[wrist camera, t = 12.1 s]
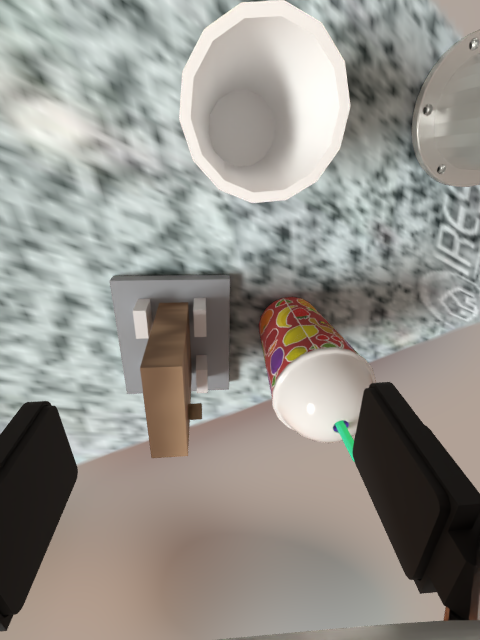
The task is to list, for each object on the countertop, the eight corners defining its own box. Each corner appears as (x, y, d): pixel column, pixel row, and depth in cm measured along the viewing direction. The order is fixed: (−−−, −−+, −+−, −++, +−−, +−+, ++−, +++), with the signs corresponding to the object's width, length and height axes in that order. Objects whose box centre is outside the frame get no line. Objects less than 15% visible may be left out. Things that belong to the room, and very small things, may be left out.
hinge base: (228, 274, 36) (232, 289, 32) (228, 381, 42) (230, 405, 38) (113, 275, 34) (101, 291, 30) (129, 386, 40) (121, 411, 36)
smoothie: (328, 334, 40) (430, 476, 22) (265, 360, 41) (313, 517, 23) (309, 274, 37) (411, 385, 19) (239, 303, 37) (273, 437, 19)
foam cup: (194, 54, 27) (188, -24, 16) (302, 77, 29) (371, 22, 17) (185, 179, 31) (174, 191, 20) (280, 194, 33) (323, 213, 21)
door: (199, 302, 35) (198, 365, 24) (202, 373, 39) (202, 454, 28) (159, 302, 35) (139, 367, 24) (165, 374, 39) (151, 458, 28)
